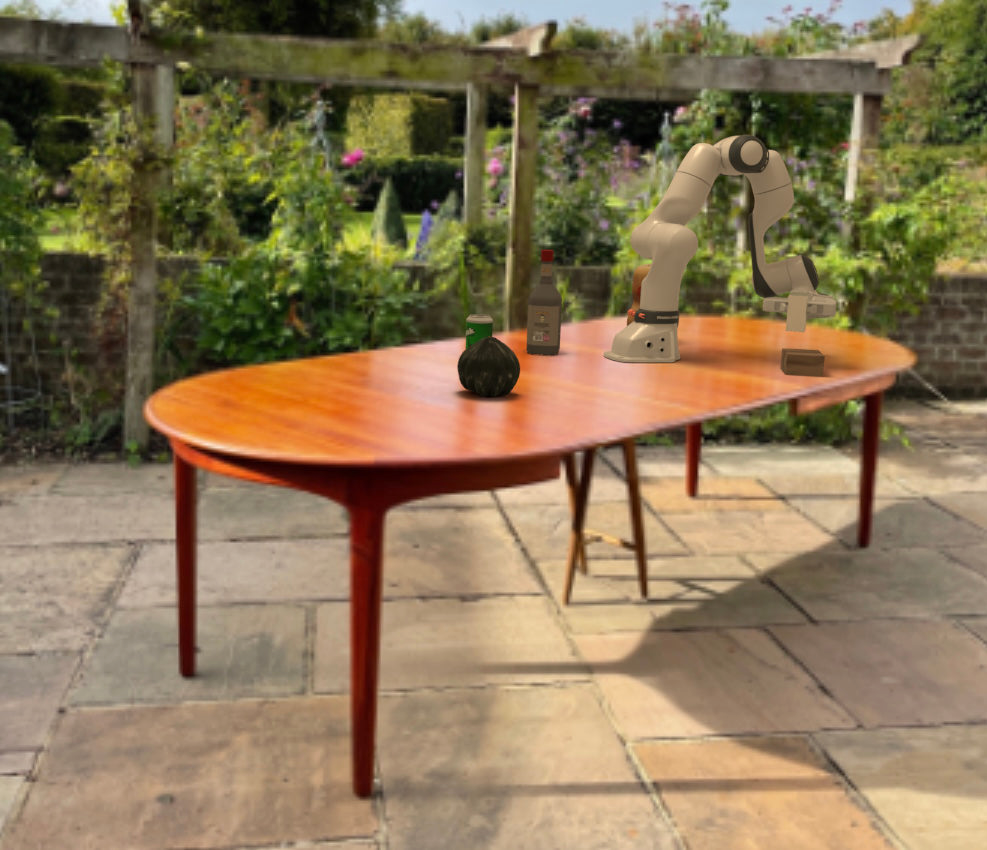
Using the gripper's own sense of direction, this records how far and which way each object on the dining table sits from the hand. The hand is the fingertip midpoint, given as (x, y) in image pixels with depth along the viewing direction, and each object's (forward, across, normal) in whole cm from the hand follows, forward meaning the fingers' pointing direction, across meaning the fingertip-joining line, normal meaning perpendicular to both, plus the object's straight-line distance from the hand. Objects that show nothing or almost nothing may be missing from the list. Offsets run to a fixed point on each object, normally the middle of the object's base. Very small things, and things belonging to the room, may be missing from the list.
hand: (797, 309), depth 305 cm
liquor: (+10, -70, +17) cm, 73 cm away
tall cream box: (-1, 0, +6) cm, 6 cm away
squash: (+74, -64, +17) cm, 100 cm away
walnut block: (+4, +3, +17) cm, 18 cm away
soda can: (+28, -84, +17) cm, 90 cm away
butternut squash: (-27, -47, +17) cm, 57 cm away
